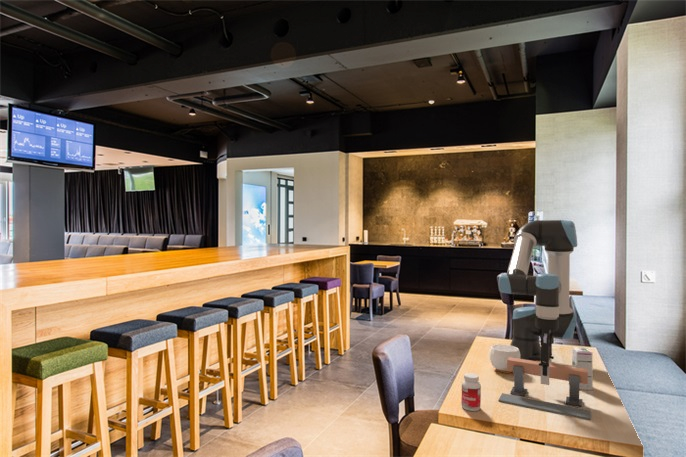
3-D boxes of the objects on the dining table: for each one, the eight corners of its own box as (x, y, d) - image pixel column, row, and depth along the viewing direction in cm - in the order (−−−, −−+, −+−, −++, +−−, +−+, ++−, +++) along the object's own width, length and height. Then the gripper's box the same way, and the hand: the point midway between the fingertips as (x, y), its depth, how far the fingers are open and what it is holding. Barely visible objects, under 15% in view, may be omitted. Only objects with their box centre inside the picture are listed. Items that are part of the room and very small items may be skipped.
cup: (488, 373, 181) (488, 350, 181) (490, 364, 192) (490, 342, 192) (520, 377, 176) (520, 353, 176) (520, 368, 188) (520, 345, 187)
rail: (508, 367, 163) (508, 357, 163) (587, 380, 150) (587, 369, 150) (507, 370, 160) (507, 359, 160) (587, 384, 147) (587, 372, 147)
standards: (513, 388, 164) (513, 360, 164) (582, 401, 152) (583, 371, 152) (510, 394, 158) (510, 365, 158) (582, 408, 146) (582, 377, 146)
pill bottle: (458, 408, 145) (458, 375, 145) (466, 402, 150) (466, 370, 150) (476, 413, 141) (476, 379, 141) (483, 407, 146) (483, 375, 146)
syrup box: (593, 390, 163) (593, 351, 163) (576, 389, 164) (576, 350, 164) (587, 384, 168) (588, 347, 168) (571, 383, 169) (571, 346, 169)
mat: (502, 394, 157) (502, 393, 157) (590, 412, 143) (590, 410, 143) (498, 401, 151) (498, 399, 151) (590, 420, 137) (590, 418, 137)
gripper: (538, 311, 166) (537, 370, 166) (532, 321, 148) (531, 387, 148) (560, 313, 162) (559, 373, 162) (556, 324, 144) (555, 392, 144)
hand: (546, 380), depth 155 cm, fingers open, 8 cm apart
